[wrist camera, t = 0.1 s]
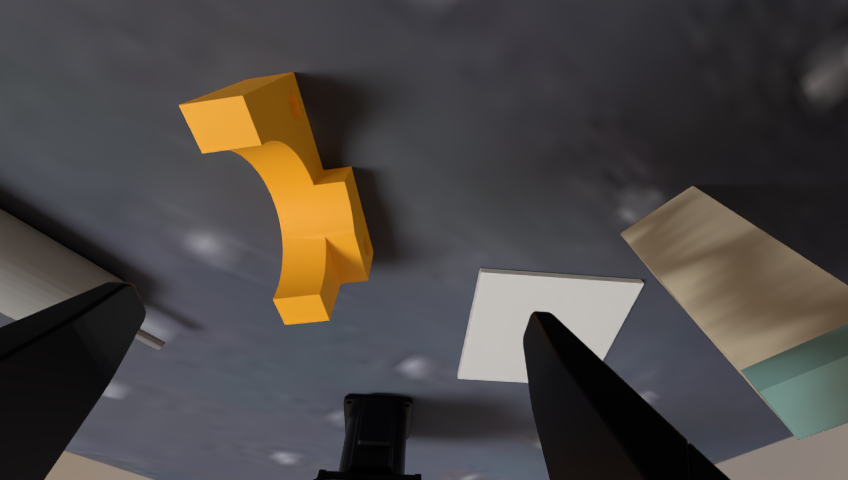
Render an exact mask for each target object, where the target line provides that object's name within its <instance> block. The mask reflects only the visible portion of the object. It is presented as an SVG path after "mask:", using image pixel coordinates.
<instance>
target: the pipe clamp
mask: <svg viewBox="0 0 848 480" xmlns="http://www.w3.org/2000/svg"><path fill="white" fill-rule="evenodd" d="M179 106H180V109H181V111H182V113H183V115H184V117H185V119H186V121H187V123H188V125H189V127H190V129H191V131H192V133H193V135H194V137H195V140H196V142H197V144H198V146H199V148H200V150H201V152H202V153H209V152H216V151H223V150H231V151H233V152H236V153H238V154H239V155H241V156H242V157H244V158H245V159H246V160H247V161H248V162H250V163H251V164H252V165H253V167H254V168H255V169H256V170H257V171H258V173H259V174H260V175H261V177H262V179H263V180H264V182H265V183H266V185H267V187H268V189H269V191H270V193H271V196H272V198H273V201H274V203H275V206H276V209H277V213H278V216H279V221H280V226H281V232H282V241H283V263H282V272H281V277H280V281H279V285H278V288H277V291H276V294H275V296H274V298H273V301H274V303H275V305H276V307H277V309H278V311H279V313H280V315H281V317H282V319H283V321H284V323H285V325H288V324H298V323H308V322H318V321H328V320H330V317H331V314H332V311H333V307H334V304H335V301H336V298H337V294H338V291H339V288H340V285H341V283H350V282H359V281H368V277H369V273H370V268H371V263H372V259H373V254H374V252H373V249H372V245H371V241H370V237H369V233H368V229H367V225H366V221H365V217H364V214H363V210H362V206H361V202H360V198H359V194H358V190H357V186H356V183H355V179H354V175H353V171H352V167H344V168H336V169H329V170H323V167H322V164H321V161H320V157H319V154H318V151H317V147H316V144H315V141H314V137H313V134H312V131H311V128H310V124H309V121H308V118H307V114H306V111H305V108H304V105H303V101H302V98H301V95H300V91H299V88H298V85H297V82H296V78H295V75H294V72H291V73H285V74H278V75H272V76H265V77H259V78H252V79H247V80H244V81H241V82H239V83H236V84H233V85H231V86H228V87H225V88H223V89H220V90H217V91H215V92H212V93H210V94H207V95H204V96H202V97H199V98H196V99H194V100H191V101H188V102H186V103H183V104H180V105H179Z"/></svg>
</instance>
